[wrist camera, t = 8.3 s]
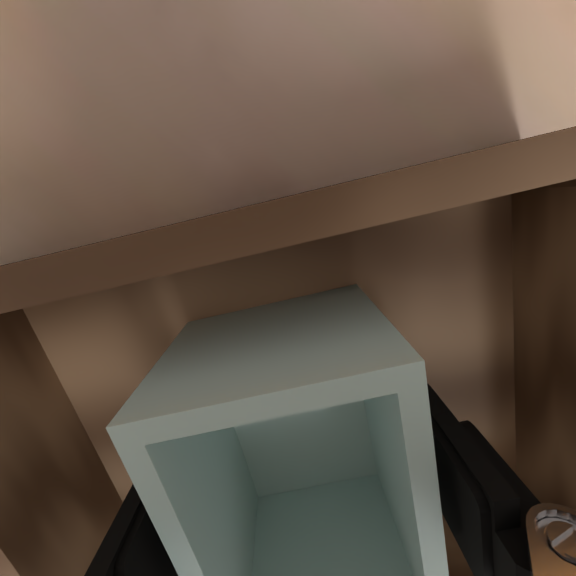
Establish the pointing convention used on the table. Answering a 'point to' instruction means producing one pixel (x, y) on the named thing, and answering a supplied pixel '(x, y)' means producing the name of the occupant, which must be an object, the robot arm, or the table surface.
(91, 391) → the big crate
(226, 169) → the table surface
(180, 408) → the small crate
